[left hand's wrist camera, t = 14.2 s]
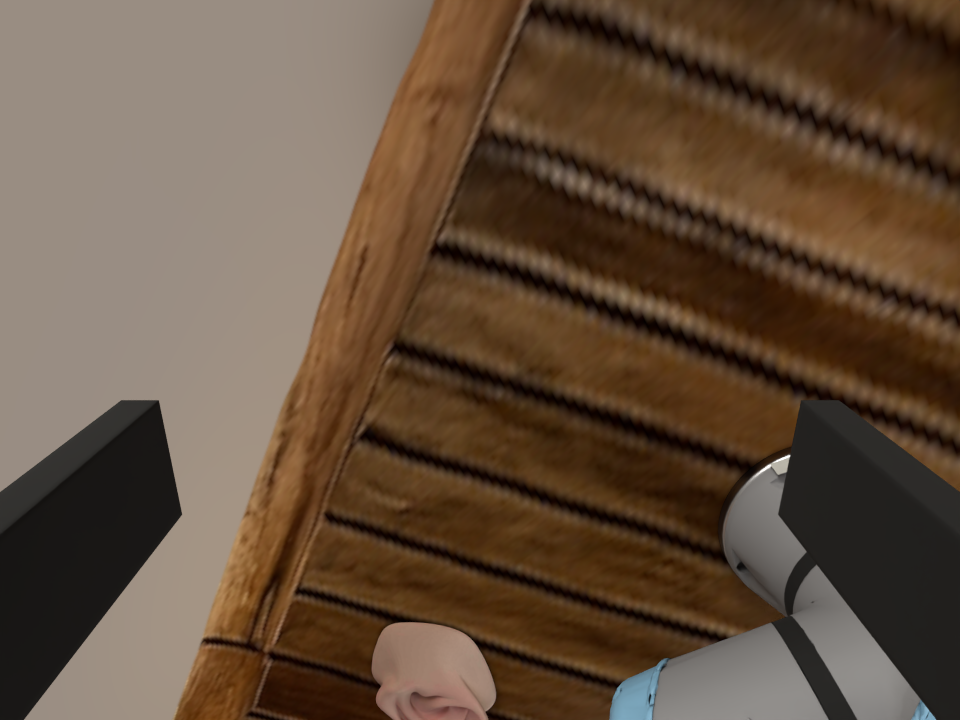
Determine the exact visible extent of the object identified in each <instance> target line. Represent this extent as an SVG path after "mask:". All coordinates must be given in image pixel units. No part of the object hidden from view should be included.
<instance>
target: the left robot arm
mask: <svg viewBox="0 0 960 720" xmlns="http://www.w3.org/2000/svg"><path fill="white" fill-rule="evenodd" d="M181 515H182V512H181V507H180V502H179V497H178V492H177V487H176V482H175V478H174V473H173V468H172V463H171V458H170V453H169V448H168V443H167V439H166V434H165V429H164V424H163V419H162V414H161V409H160V404H159V401H158V400H121V401H120V402H119V403H117V404H116V405H115V406H113V407H112V408H111V409H109V410H108V411H107V412H105V413H104V414H103V415H101V416H100V417H99V418H97V419H96V420H95V421H93V422H92V423H91V424H90V425H88V426H87V427H86V428H84V429H83V430H82V431H80V432H79V433H78V434H76V435H75V436H74V437H72V438H71V439H70V440H68V441H67V442H66V443H64V444H63V445H62V446H61V447H59V448H58V449H57V450H55V451H54V452H53V453H51V454H50V455H49V456H47V457H46V458H45V459H43V460H42V461H41V462H39V463H38V464H37V465H36V466H34V467H33V468H32V469H30V470H29V471H28V472H26V473H25V474H24V475H22V476H21V477H20V478H18V479H17V480H16V481H14V482H13V483H12V484H10V485H9V486H8V487H7V488H5V489H4V490H3V491H1V492H0V720H24V719H25V717H26V716H27V715H28V714H29V712H30V711H31V710H32V708H33V707H34V706H35V705H36V703H37V702H38V701H39V699H40V698H41V697H42V695H43V694H44V693H45V692H46V690H47V689H48V688H49V686H50V685H51V684H52V682H53V681H54V680H55V679H56V677H57V676H58V675H59V673H60V672H61V671H62V670H63V668H64V667H65V666H66V664H67V663H68V662H69V660H70V659H71V658H72V657H73V655H74V654H75V653H76V651H77V650H78V649H79V647H80V646H81V645H82V644H83V642H84V641H85V640H86V638H87V637H88V636H89V635H90V633H91V632H92V631H93V629H94V628H95V627H96V625H97V624H98V623H99V622H100V620H101V619H102V618H103V616H104V615H105V614H106V612H107V611H108V610H109V609H110V607H111V606H112V605H113V603H114V602H115V601H116V600H117V598H118V597H119V596H120V594H121V593H122V592H123V590H124V589H125V588H126V587H127V585H128V584H129V583H130V581H131V580H132V579H133V577H134V576H135V575H136V574H137V572H138V571H139V570H140V568H141V567H142V566H143V565H144V563H145V562H146V561H147V559H148V558H149V557H150V555H151V554H152V553H153V552H154V550H155V549H156V548H157V546H158V545H159V544H160V542H161V541H162V540H163V539H164V537H165V536H166V535H167V533H168V532H169V531H170V530H171V528H172V527H173V526H174V524H175V523H176V522H177V520H178V519H179V518H180V516H181ZM718 535H719V541H720V546H721V548H722V551H723V553H724V555H725V557H726V559H727V561H728V563H729V564H730V566H731V568H732V569H733V571H734V572H735V574H736V575H737V576H738V577H739V578H740V579H741V580H742V582H743V583H744V584H745V585H746V586H747V587H748V588H750V589H751V590H752V591H753V592H755V593H756V594H757V595H759V596H760V597H761V598H762V599H764V600H765V601H766V602H768V603H769V604H770V605H771V606H773V607H774V608H775V609H777V610H778V611H779V612H780V613H782V614H783V615H784V616H786V617H785V618H782V619H780V620H777V621H775V622H771V623H769V624H766V625H763V626H761V627H758V628H755V629H753V630H750V631H747V632H745V633H742V634H739V635H736V636H734V637H731V638H728V639H725V640H723V641H720V642H717V643H714V644H712V645H709V646H706V647H703V648H701V649H698V650H695V651H692V652H690V653H687V654H684V655H682V656H679V657H676V658H673V659H670V658H666V659H664V660H662V661H660V662H659V663H658V665H657V666H656V667H653V668H651V669H649V670H647V671H644V672H642V673H640V674H637V675H635V676H633V677H631V678H628V679H627V680H625V681H624V682H623V683H621V685H620V686H619V687H618V688H617V690H616V692H615V695H614V697H613V700H612V706H611V709H610V720H960V492H959V491H957V490H956V489H955V488H954V487H952V486H951V485H950V484H948V483H947V482H946V481H944V480H943V479H942V478H940V477H939V476H938V475H936V474H935V473H934V472H932V471H931V470H930V469H928V468H927V467H926V466H925V465H923V464H922V463H921V462H919V461H918V460H917V459H915V458H914V457H913V456H911V455H910V454H909V453H907V452H906V451H905V450H903V449H902V448H901V447H899V446H898V445H897V444H896V443H894V442H893V441H892V440H890V439H889V438H888V437H886V436H885V435H884V434H882V433H881V432H880V431H878V430H877V429H876V428H874V427H873V426H872V425H870V424H869V423H868V422H867V421H865V420H864V419H863V418H861V417H860V416H859V415H857V414H856V413H855V412H853V411H852V410H851V409H849V408H848V407H847V406H845V405H844V404H843V403H841V402H840V401H839V400H801V404H800V409H799V414H798V419H797V424H796V429H795V433H794V438H793V443H792V447H789V448H787V449H784V450H781V451H779V452H777V453H774V454H772V455H770V456H769V457H767V458H765V459H763V460H762V461H760V462H759V463H757V464H756V465H755V466H753V467H752V468H751V469H750V470H748V471H747V472H746V473H745V474H744V475H743V476H742V477H741V478H740V479H739V480H738V482H737V483H736V484H735V485H734V487H733V488H732V489H731V491H730V493H729V494H728V496H727V498H726V500H725V502H724V504H723V507H722V510H721V513H720V517H719V524H718Z"/></svg>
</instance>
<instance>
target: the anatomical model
mask: <svg viewBox="0 0 960 720" xmlns="http://www.w3.org/2000/svg"><path fill="white" fill-rule="evenodd" d="M372 674H373V677H374V678H375V680H376V681H377V682H378V683H379V684H380V685H381V688H380V689H379V691H378V693H377V696H376V702H377V705H378V706H379V707H380V708H381V709H382V710H383V711H384V712H385V713H386V714H387V715H389V716H390V717H391V718H392V719H393V720H488V717H487V715H486V713H485V711H487V710H488V709H490V708H491V707H492V705H493V704H494V702H495V699H496V690H495V685H494V682H493V679H492V676H491V673H490V670H489V668H488V666H487V663H486V661H485V659H484V657H483V655H482V654H481V652H480V650H479V649H478V647H477V645H476V644H475V643H474V642H473V641H472V639H471V638H469V637H468V636H467V635H465V634H464V633H462V632H460V631H458V630H456V629H453V628H450V627H446V626H442V625H436V624H428V623H416V622H401V623H395V624H391V625H389V626H387V627H386V628H385V629H384V630H383V631H382V633H381V635H380V637H379V639H378V641H377V644H376V647H375V650H374V654H373V660H372Z"/></svg>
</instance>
